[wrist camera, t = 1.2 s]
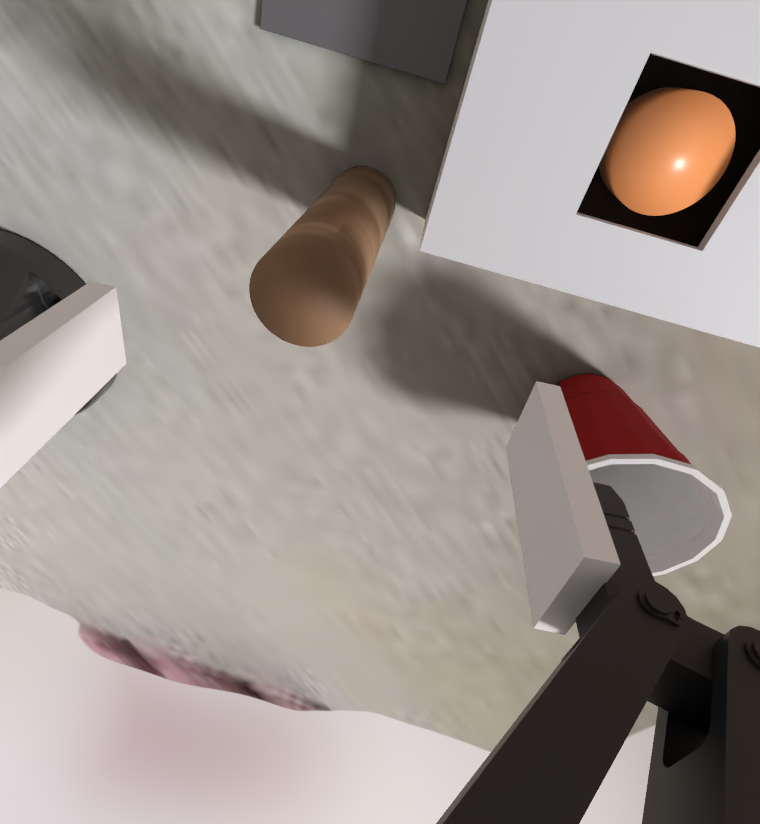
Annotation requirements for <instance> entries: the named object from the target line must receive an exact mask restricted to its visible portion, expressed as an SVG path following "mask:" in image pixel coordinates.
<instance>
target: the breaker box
mask: <svg viewBox="0 0 760 824" xmlns="http://www.w3.org/2000/svg"><path fill="white" fill-rule="evenodd" d="M650 54H653V55H656V56H659V57H662V58H666V59H669V60H672V61H675V62H679V63H682V64H685V65H689V66H692V67H695V68H698V69H702V70H705V71H708V72H711V73H715V74H718V75H721V76H725V77H728V78H731V79H734V80H738V81H741V82H744V83H747V84H751V85H754V86H757V87H760V0H488V3H487V6H486V10H485V13H484V17H483V20H482V24H481V27H480V31H479V34H478V38H477V41H476V45H475V48H474V52H473V55H472V59H471V62H470V66H469V69H468V73H467V76H466V80H465V83H464V87H463V90H462V94H461V97H460V101H459V104H458V108H457V111H456V115H455V118H454V122H453V125H452V129H451V132H450V136H449V139H448V143H447V146H446V150H445V153H444V157H443V160H442V164H441V167H440V171H439V174H438V178H437V181H436V185H435V188H434V192H433V195H432V199H431V202H430V206H429V209H428V213H427V216H426V220H425V225H424V230H423V235H422V241H421V246H420V251H422V252H425V253H429V254H432V255H436V256H439V257H443V258H446V259H450V260H453V261H457V262H460V263H464V264H467V265H471V266H475V267H478V268H482V269H485V270H489V271H492V272H496V273H499V274H503V275H506V276H510V277H513V278H517V279H520V280H524V281H527V282H531V283H534V284H538V285H541V286H545V287H548V288H552V289H555V290H559V291H563V292H566V293H570V294H573V295H577V296H580V297H584V298H587V299H591V300H594V301H598V302H601V303H605V304H608V305H612V306H615V307H619V308H622V309H626V310H629V311H633V312H636V313H640V314H643V315H647V316H651V317H654V318H658V319H661V320H665V321H668V322H672V323H675V324H679V325H682V326H686V327H689V328H693V329H696V330H700V331H703V332H707V333H710V334H714V335H717V336H721V337H724V338H728V339H731V340H735V341H739V342H742V343H746V344H749V345H753V346H756V347H760V149H759V151H758V153H757V154H756V156H755V157H754V159H753V161H752V162H751V164H750V165H749V167H748V168H747V170H746V172H745V173H744V175H743V176H742V178H741V179H740V181H739V183H738V184H737V186H736V187H735V189H734V191H733V192H732V194H731V195H730V197H729V198H728V200H727V202H726V203H725V205H724V206H723V208H722V210H721V211H720V213H719V214H718V216H717V217H716V219H715V221H714V222H713V224H712V225H711V227H710V228H709V230H708V232H707V233H706V235H705V236H704V238H703V240H702V241H701V243H700V244H699V246H698V247H695V246H692V245H688V244H685V243H682V242H678V241H675V240H671V239H668V238H664V237H661V236H658V235H654V234H651V233H647V232H644V231H640V230H637V229H633V228H630V227H627V226H623V225H620V224H616V223H613V222H609V221H606V220H602V219H599V218H596V217H592V216H589V215H585V214H582V213H578V212H577V211H578V208H579V206H580V204H581V202H582V200H583V198H584V195H585V193H586V191H587V189H588V187H589V185H590V183H591V180H592V178H593V176H594V174H595V172H596V170H597V167H598V165H599V163H600V161H601V159H602V157H603V154H604V152H605V150H606V148H607V146H608V144H609V141H610V139H611V137H612V135H613V133H614V131H615V129H616V126H617V124H618V122H619V120H620V118H621V116H622V113H623V111H624V109H625V107H626V105H627V103H628V100H629V98H630V96H631V94H632V92H633V90H634V87H635V85H636V83H637V81H638V79H639V77H640V75H641V72H642V70H643V68H644V66H645V64H646V62H647V59H648V57H649V55H650Z"/></svg>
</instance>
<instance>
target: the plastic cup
mask: <svg viewBox="0 0 760 824" xmlns="http://www.w3.org/2000/svg"><path fill="white" fill-rule="evenodd" d="M556 386H560V387H561V390H562V393H563V396H564V399H565V402H566V405H567V408H568V411H569V414H570V417H571V420H572V423H573V426H574V429H575V431H576V434H577V437H578V440H579V443H580V446H581V449H582V452H583V455H584V458H585V461H586V464H587V467H588V470H589V473H590V476H591V479H592V481H593V482H595V483H600V484H604V485H609V486H611V487H612V488H613V489H614V491H615V492H616V493H617V494H618V496H619V497H620V498H621V499H622V500H623V502H624V504H625V506H626V509H627V512H628V514H629V517H630V519H629V520H630V521H631V522H632V524H633V527H634V529H635V534H637V537H638V540H639V542H640V545H641V547H642V550H643V552H644V555H645V557H646V560H647V562H648V565H649V567H650V570H651V573H652V575H653V576H656V575H662V574H666V573H668V572H671V571H673V570H676V569H678V568H680V567H683V566H685V565H688V564H690V563H693V562H695V561H698V560H699V559H700V558H701V557H702V556H704V555H705V554H706V553H707V552H708V551H710V550H711V549H712V548H713V547H714V546H716V545H717V544H718V543H719V542H720V541H722V539H723V536H724V534H725V531H726V529H727V527H728V524H729V522H730V519H731V517H732V514H731V511H730V508H729V505H728V501H727V498H726V495H725V492H724V490H723V489H722V488H721V487H720V486H719V485H718V484H717V483H715V482H714V481H713V480H712V479H710V478H709V477H708V476H706V475H705V474H704V473H703V472H701V471H700V470H699V469H697V468H696V467H695V466H694V465H692V464H691V463H690V462H689V461H688V459H687V458H686V457H685V456H684V455H683V454H682V453H680V452H679V451H678V450H677V449H676V448H675V447H674V445H673V444H672V443H671V442H670V441H669V440H668V439H667V437H666V436H665V435H664V434H663V433H662V432H661V430H660V429H659V428H658V427H657V426H656V425H655V424H654V422H653V421H652V420H651V419H650V418H649V417H648V416H647V414H646V413H645V412H644V411H643V410H642V409H641V408H640V407H639V406H638V405H637V404H635V403H634V402H633V401H632V400H631V399H630V397H629V396H628V395H627V394H626V393H625V392H624V390H623V389H621V388H620V387H619V386H618V385H616V384H615V383H614V382H613V381H611V380H609V379H608V378H606V377H602V376H599V375H595V374H583V375H575V376H572V377H570V378H567V379H565V380H562V381H560V382H559V383H558V384H557V385H556Z"/></svg>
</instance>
